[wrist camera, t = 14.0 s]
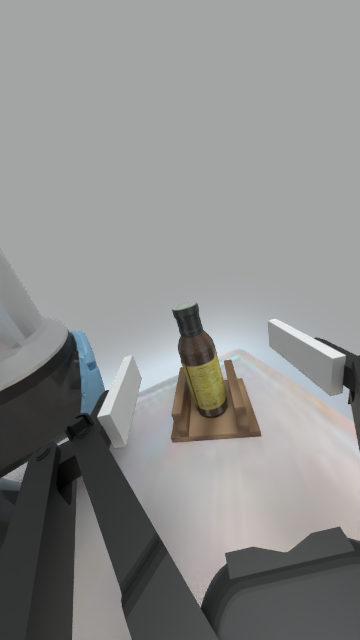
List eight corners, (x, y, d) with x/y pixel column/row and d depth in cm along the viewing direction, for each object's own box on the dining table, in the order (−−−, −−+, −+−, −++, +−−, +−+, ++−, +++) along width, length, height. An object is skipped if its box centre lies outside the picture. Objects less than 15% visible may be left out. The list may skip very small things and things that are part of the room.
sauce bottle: (235, 401, 31) (214, 298, 25) (213, 426, 28) (183, 313, 22) (209, 387, 36) (187, 298, 30) (188, 406, 33) (158, 311, 27)
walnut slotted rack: (172, 442, 28) (162, 415, 26) (180, 390, 39) (173, 368, 38) (261, 436, 26) (256, 405, 24) (242, 381, 37) (238, 358, 35)
